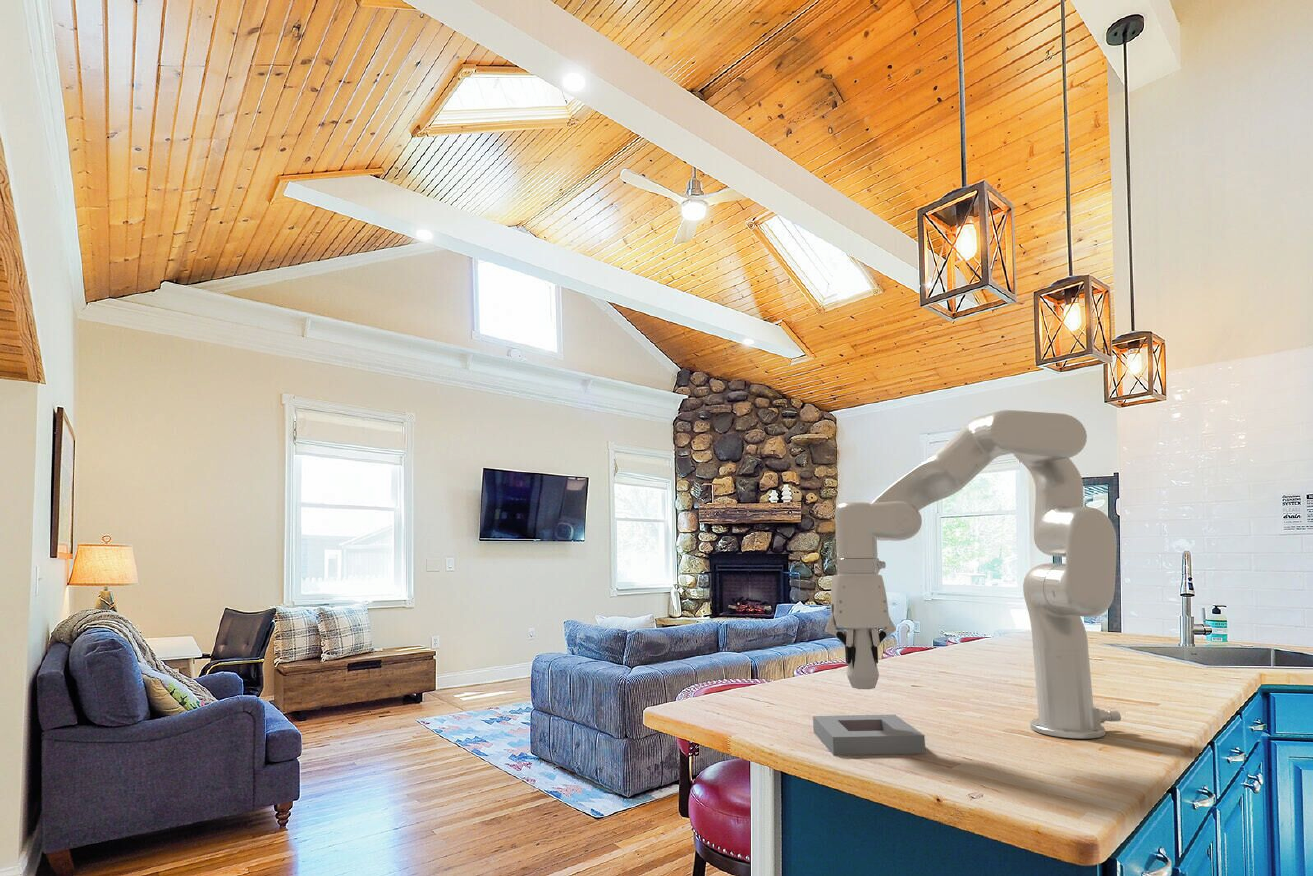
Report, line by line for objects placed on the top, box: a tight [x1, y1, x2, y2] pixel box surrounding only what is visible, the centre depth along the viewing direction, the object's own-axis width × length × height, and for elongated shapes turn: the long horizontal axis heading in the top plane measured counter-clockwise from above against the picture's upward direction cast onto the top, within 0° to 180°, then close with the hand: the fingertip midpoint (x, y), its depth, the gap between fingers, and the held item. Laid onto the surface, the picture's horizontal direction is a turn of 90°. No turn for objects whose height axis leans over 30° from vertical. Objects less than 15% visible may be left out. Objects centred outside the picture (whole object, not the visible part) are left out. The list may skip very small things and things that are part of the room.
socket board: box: [812, 714, 926, 756], centre depth 139 cm, size 16×16×3 cm
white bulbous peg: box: [846, 628, 880, 690], centre depth 141 cm, size 6×6×13 cm
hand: (862, 667), depth 141 cm, fingers closed on white bulbous peg, 3 cm apart
